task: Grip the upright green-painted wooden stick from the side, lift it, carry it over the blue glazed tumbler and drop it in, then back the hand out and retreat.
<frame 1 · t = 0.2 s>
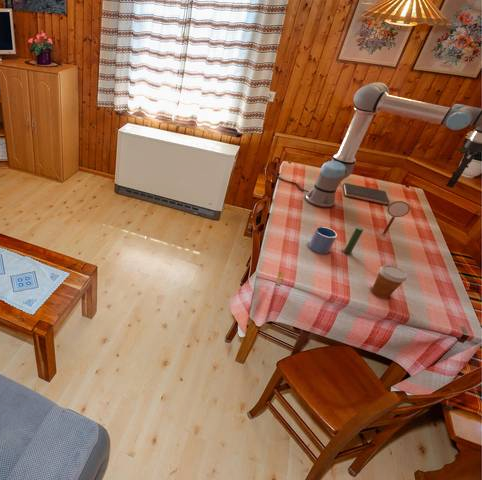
hand: (451, 183, 185), 28 cm above the table, tool pointing down, fingers open, 13 cm apart
tumbler: (318, 248, 182), on the table
hardcover book: (364, 195, 231), on the table
magnifying glass: (383, 235, 195), on the table
disposable coffee cup: (379, 293, 157), on the table
stick: (347, 252, 180), on the table
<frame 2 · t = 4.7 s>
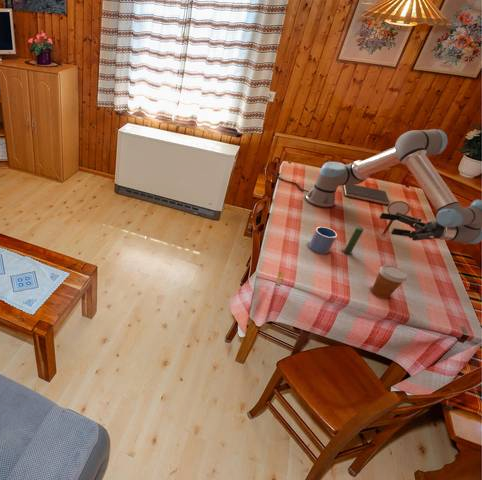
hand: (386, 223, 168), 18 cm above the table, tool horizontal, fingers open, 13 cm apart
nothing on the table moved.
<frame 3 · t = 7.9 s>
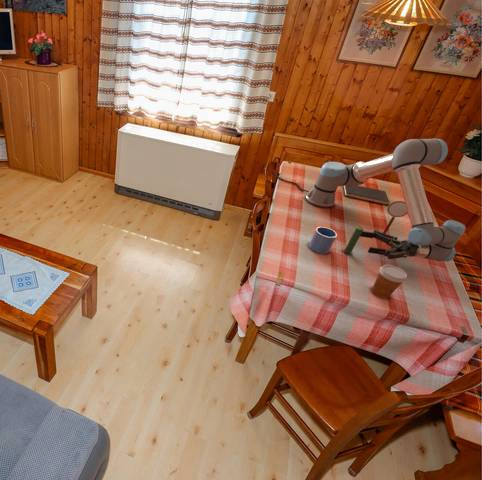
hand: (363, 241, 175), 7 cm above the table, tool horizontal, fingers open, 13 cm apart
nothing on the table moved.
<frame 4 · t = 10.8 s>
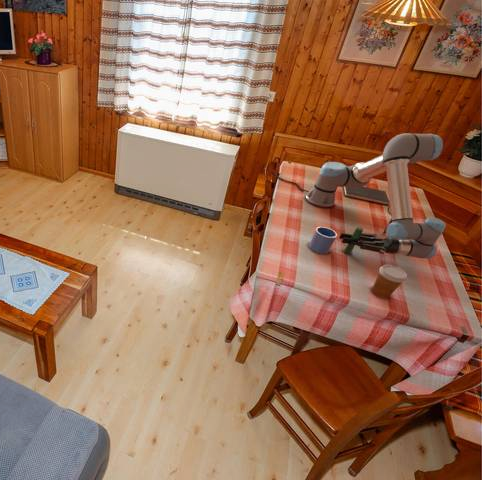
hand: (341, 237, 177), 8 cm above the table, tool horizontal, fingers closed on stick, 3 cm apart
stick: (347, 252, 180), on the table, touching gripper
everything else where it was.
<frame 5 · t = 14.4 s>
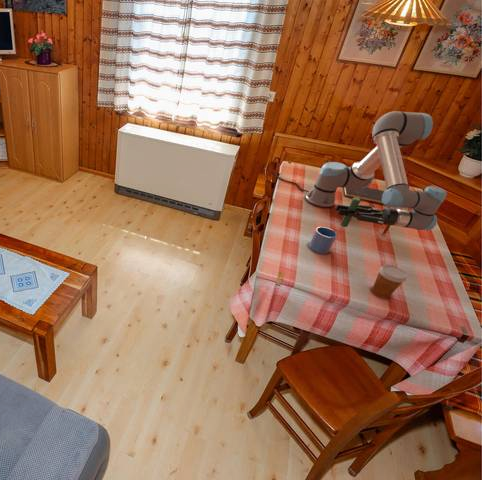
hand: (337, 209, 169), 22 cm above the table, tool horizontal, fingers closed on stick, 3 cm apart
stick: (343, 225, 173), point 14 cm above the table, touching gripper
everything else where it was.
when the fingers open (12 cm above the table, at t = 18.4 s): stick drops 3 cm, resting on tumbler.
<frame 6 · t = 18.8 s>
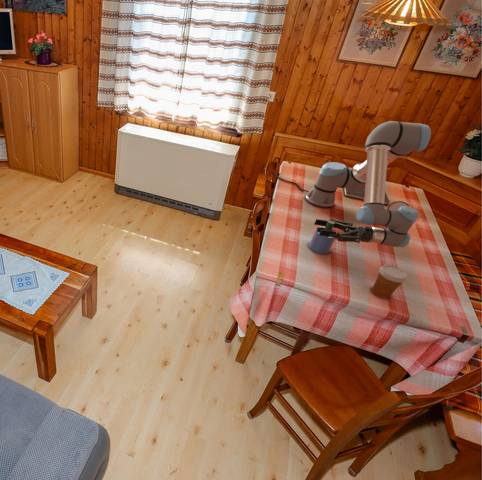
hand: (317, 227, 176), 12 cm above the table, tool horizontal, fingers open, 8 cm apart
stick: (319, 246, 181), point 1 cm above the table, touching tumbler
everything else where it was.
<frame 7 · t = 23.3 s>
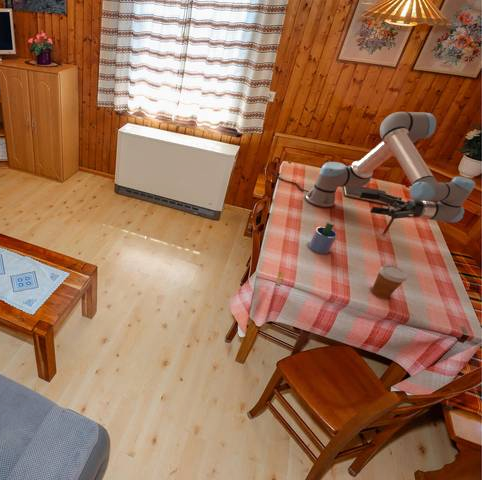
hand: (365, 201, 165), 27 cm above the table, tool horizontal, fingers open, 13 cm apart
nothing on the table moved.
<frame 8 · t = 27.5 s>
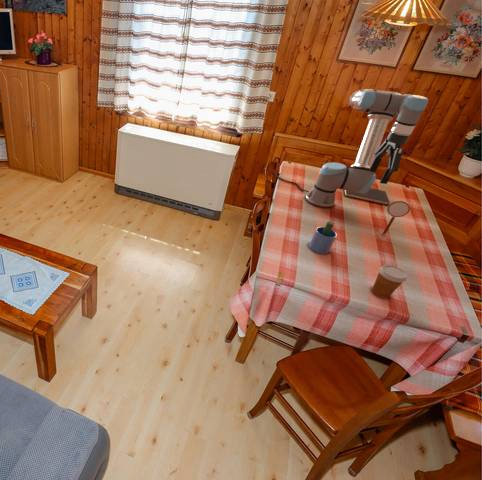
hand: (377, 177, 177), 32 cm above the table, tool pointing down, fingers open, 13 cm apart
nothing on the table moved.
at the end: stick 0.1 cm off-centre in the tumbler, point 0.6 cm above the tumbler's base; the gripper is holding nothing; stick touching tumbler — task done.
